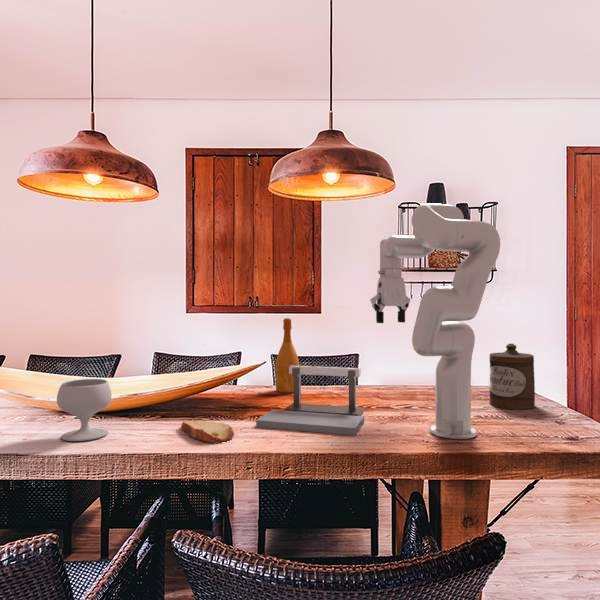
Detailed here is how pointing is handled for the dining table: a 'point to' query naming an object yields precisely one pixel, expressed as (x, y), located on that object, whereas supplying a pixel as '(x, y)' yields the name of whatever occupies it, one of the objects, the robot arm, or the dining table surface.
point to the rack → (325, 409)
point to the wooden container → (512, 379)
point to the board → (311, 422)
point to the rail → (325, 370)
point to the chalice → (84, 405)
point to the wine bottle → (286, 361)
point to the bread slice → (208, 431)
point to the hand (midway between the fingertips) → (390, 322)
